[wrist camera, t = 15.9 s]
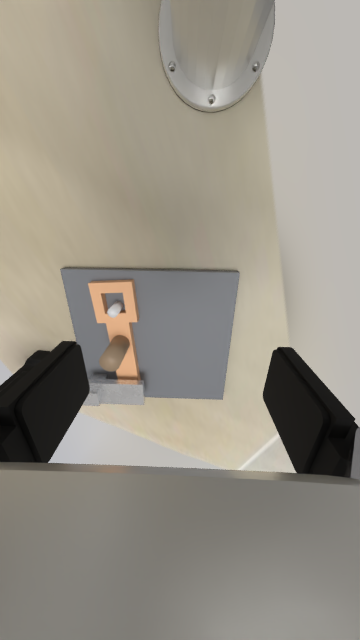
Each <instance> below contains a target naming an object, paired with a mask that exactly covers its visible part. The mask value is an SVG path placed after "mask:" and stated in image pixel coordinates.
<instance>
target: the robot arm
mask: <svg viewBox="0 0 360 640" xmlns="http://www.w3.org/2000/svg"><path fill="white" fill-rule="evenodd" d="M274 1H275V0H161V6H160V12H159V26H158V35H159V47H160V53H161V59H162V63H163V66H164V70H165V73H166V75H167V78H168V80H169V82H170V84H171V86H172V87H173V89H174V90H175V92H176V93H177V95H178V96H179V97H180V98H181V99H182V100H183V101H184V102H185V103H187V104H188V105H190V106H191V107H193V108H195V109H198V110H201V111H206V112H215V111H221V110H224V109H226V108H229V107H231V106H233V105H234V104H235V103H237V102H238V101H240V100H241V99H242V98H243V97H244V96H245V95H246V94H247V93H248V92H249V91H250V89H251V88H252V86H253V85H254V83H255V82H256V80H257V79H258V77H259V75H260V73H261V71H262V69H263V66H264V64H265V62H266V59H267V57H268V54H269V50H270V47H271V43H272V39H273V31H274V25H275V3H274ZM172 69H173V70H174V72H171V70H172ZM253 69H254V70H255V72H253ZM210 101H212V102H213V104H210V103H209V102H210ZM89 391H90V386H89V381H88V377H87V372H86V368H85V363H84V358H83V354H82V349H81V346H80V345H79V344H77V342H75V341H62V342H61V343H60V344H59V345H58V346H56V347H55V348H54V349H53V350H52V351H51V352H50V353H49V354H48V355H47V356H45V357H44V358H43V359H42V360H41V361H40V362H39V363H38V364H37V365H36V366H34V367H33V368H32V369H31V370H30V371H29V372H28V373H27V374H26V375H25V376H23V377H22V378H21V379H20V380H19V381H18V382H17V383H16V384H15V385H14V386H12V387H11V388H10V389H9V390H8V391H7V392H6V393H5V394H4V395H3V396H1V397H0V640H360V427H358V425H357V424H356V423H355V422H354V420H355V418H354V417H353V416H352V415H351V414H350V413H349V411H348V410H347V409H346V408H345V407H344V406H343V405H342V404H341V402H340V401H339V400H338V399H337V398H336V397H335V396H334V394H333V393H332V392H331V391H330V390H329V389H328V388H327V387H326V385H325V384H324V383H323V382H322V381H321V380H320V379H319V378H318V376H317V375H316V374H315V373H314V372H313V371H312V370H311V368H310V367H309V366H308V365H307V364H306V363H305V362H304V361H303V360H302V358H301V357H300V356H299V355H298V354H297V353H296V352H295V350H294V349H293V348H291V347H278V348H277V350H274V351H273V353H272V357H271V362H270V366H269V370H268V374H267V378H266V383H265V387H264V391H263V399H264V402H265V404H266V406H267V408H268V411H269V413H270V415H271V417H272V420H273V422H274V424H275V426H276V429H277V431H278V433H279V435H280V437H281V440H282V442H283V444H284V446H285V449H286V451H287V453H288V455H289V457H290V460H291V462H292V464H293V466H294V469H295V471H296V472H297V473H283V472H263V471H241V470H218V469H197V468H171V467H170V468H169V467H148V466H122V465H93V464H63V463H48V462H49V460H50V459H51V457H52V456H53V454H54V452H55V450H56V449H57V447H58V445H59V443H60V442H61V440H62V439H63V437H64V435H65V433H66V432H67V430H68V428H69V427H70V425H71V423H72V422H73V420H74V418H75V417H76V415H77V413H78V411H79V410H80V408H81V406H82V405H83V403H84V401H85V400H86V398H87V396H88V394H89Z"/></svg>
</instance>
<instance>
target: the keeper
mask: <svg viewBox="0 0 360 640" xmlns="http://www.w3.org/2000/svg"><path fill="white" fill-rule="evenodd" d="M88 381H89V386H90V391H89V394H88V396H87V398H86V400H85V401H84V403H83V405H87V406H100V404H130V405H144V404H145V389H144V380H114V379H109V378H108V374H101V373H93V374H92V376H91V378H90V379H88Z"/></svg>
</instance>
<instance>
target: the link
mask: <svg viewBox="0 0 360 640" xmlns="http://www.w3.org/2000/svg"><path fill="white" fill-rule="evenodd" d="M88 286H89V290H90V294H91V299H92V303H93V307H94V311H95V316H96V320H97V323H106V326H107V331H108V335H109V340H110V344H109V345H108V347H107V348H106V350H105V351H104V353H103V354H102V356H101V357H100V359H99V364H100V366H101V367H102V368H103V369H104V370H106V371H116V373H117V377H118V380H141V379H140V372H139V366H138V360H137V353H136V347H135V341H134V334H133V328H132V322H138V320H139V312H138V305H137V298H136V291H135V283H134V279H132V280H106V281H91V282H90V283H88ZM105 293H123V298H124V304H125V310H121V311H120V312H119V314H118V315H117V316H116V317H114V318H112V317H110V316H109V315H108V314H107V311H108V306H107V301H106V296H105Z"/></svg>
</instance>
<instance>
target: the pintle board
mask: <svg viewBox="0 0 360 640" xmlns="http://www.w3.org/2000/svg"><path fill="white" fill-rule="evenodd" d="M60 270H61V275H62V279H63V284H64V288H65V292H66V297H67V301H68V306H69V310H70V315H71V319H72V324H73V328H74V332H75V337H76V341H77V344H79V345H80V346H81V349H82V354H83V358H84V363H85V368H86V372H87V377H88V379H90V378H91V376H92V374H93V373H101V374H108V378H109V379H114V380H118V377H117V373H116V371H106V370H104V369H103V368H102V367H101V366H100V364H99V359H100V357H101V356H102V354H103V353H104V351H105V350H106V348H107V347H108V345H109V344H110V340H109V335H108V331H107V326H106V323H97V320H96V316H95V311H94V307H93V303H92V299H91V294H90V290H89V286H88V283H90V282H91V281H106V280H132V279H134V283H135V291H136V298H137V305H138V312H139V320H138V322H132V328H133V334H134V341H135V347H136V353H137V360H138V366H139V372H140V379H141V380H144V389H145V397H159V398H189V399H219V400H223V393H224V386H225V378H226V371H227V363H228V356H229V348H230V341H231V333H232V326H233V318H234V311H235V304H236V296H237V289H238V281H239V274H240V273H239V272H238V271H215V270H165V269H115V268H62V269H60ZM105 296H106V301H107V306H108V311H107V314H108V315H109V316H110V317H112V318H114V317H116V316H117V315H118V314H119V312H120V311H121V310H125V304H124V298H123V293H105Z"/></svg>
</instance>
